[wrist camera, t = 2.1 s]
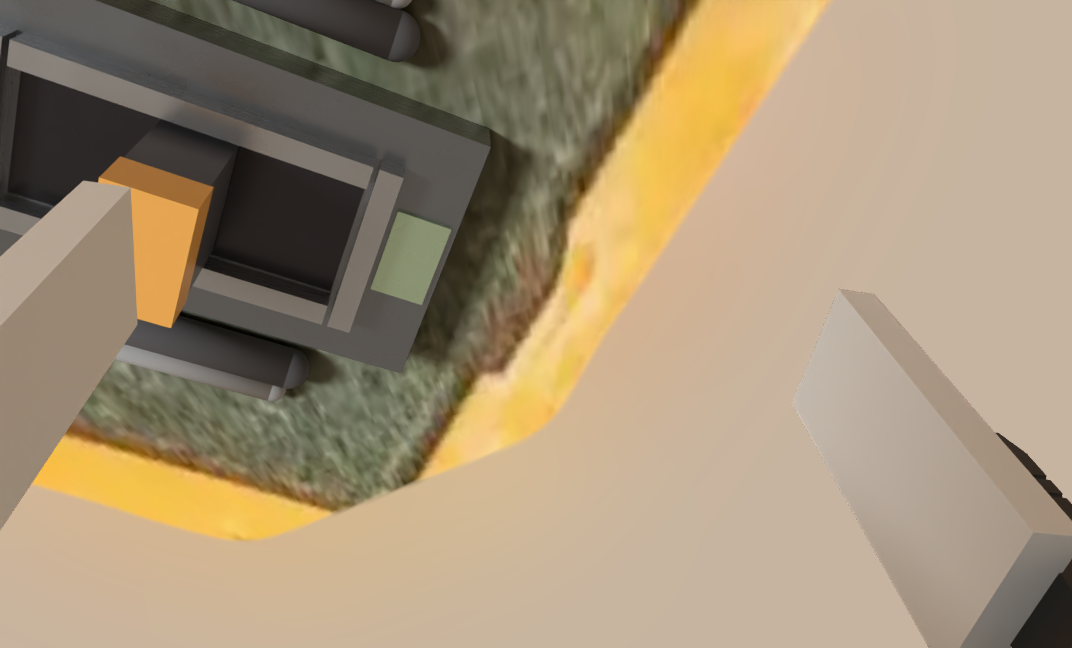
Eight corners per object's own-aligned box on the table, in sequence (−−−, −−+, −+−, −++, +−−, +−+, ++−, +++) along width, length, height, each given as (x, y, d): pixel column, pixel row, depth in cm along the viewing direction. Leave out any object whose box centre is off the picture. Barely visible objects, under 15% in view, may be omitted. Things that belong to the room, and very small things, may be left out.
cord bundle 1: (7, 317, 40) (-13, 339, 38) (14, 258, 39) (-6, 279, 37) (300, 397, 44) (293, 421, 42) (317, 347, 42) (311, 369, 40)
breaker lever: (137, 226, 36) (77, 301, 30) (159, 117, 33) (98, 177, 28) (215, 251, 36) (170, 328, 31) (241, 146, 34) (198, 209, 29)
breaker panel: (-81, 201, 37) (-131, 236, 34) (-64, -80, 32) (-121, -69, 28) (404, 346, 43) (399, 387, 39) (489, 128, 37) (491, 157, 34)
